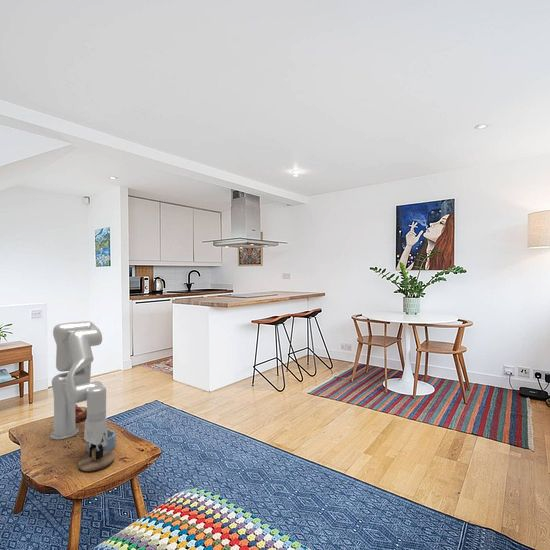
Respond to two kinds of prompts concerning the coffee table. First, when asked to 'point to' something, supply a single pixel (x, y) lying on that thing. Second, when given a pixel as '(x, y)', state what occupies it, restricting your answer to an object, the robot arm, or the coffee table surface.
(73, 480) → the coffee table surface
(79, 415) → the anatomical model
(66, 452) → the coffee table surface
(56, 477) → the coffee table surface
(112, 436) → the bowl
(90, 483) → the coffee table surface
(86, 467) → the lid
